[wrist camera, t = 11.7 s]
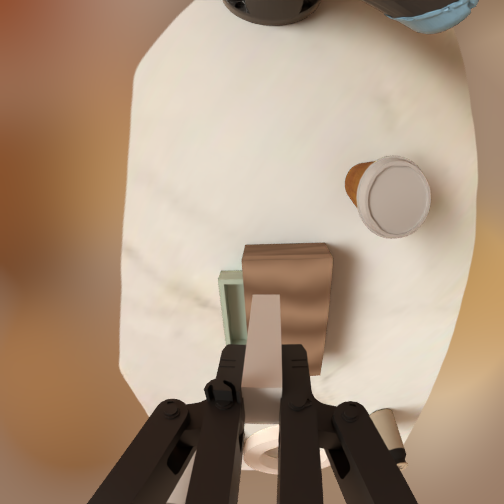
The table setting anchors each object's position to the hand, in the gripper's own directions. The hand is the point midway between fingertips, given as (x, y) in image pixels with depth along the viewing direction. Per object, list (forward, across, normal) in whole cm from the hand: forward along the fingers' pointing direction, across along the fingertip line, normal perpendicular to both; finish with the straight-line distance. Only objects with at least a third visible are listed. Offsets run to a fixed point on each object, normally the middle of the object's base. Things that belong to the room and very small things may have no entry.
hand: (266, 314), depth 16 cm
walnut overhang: (+26, +2, -17) cm, 31 cm away
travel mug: (+25, +29, -54) cm, 67 cm away
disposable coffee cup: (+27, +14, +3) cm, 30 cm away
